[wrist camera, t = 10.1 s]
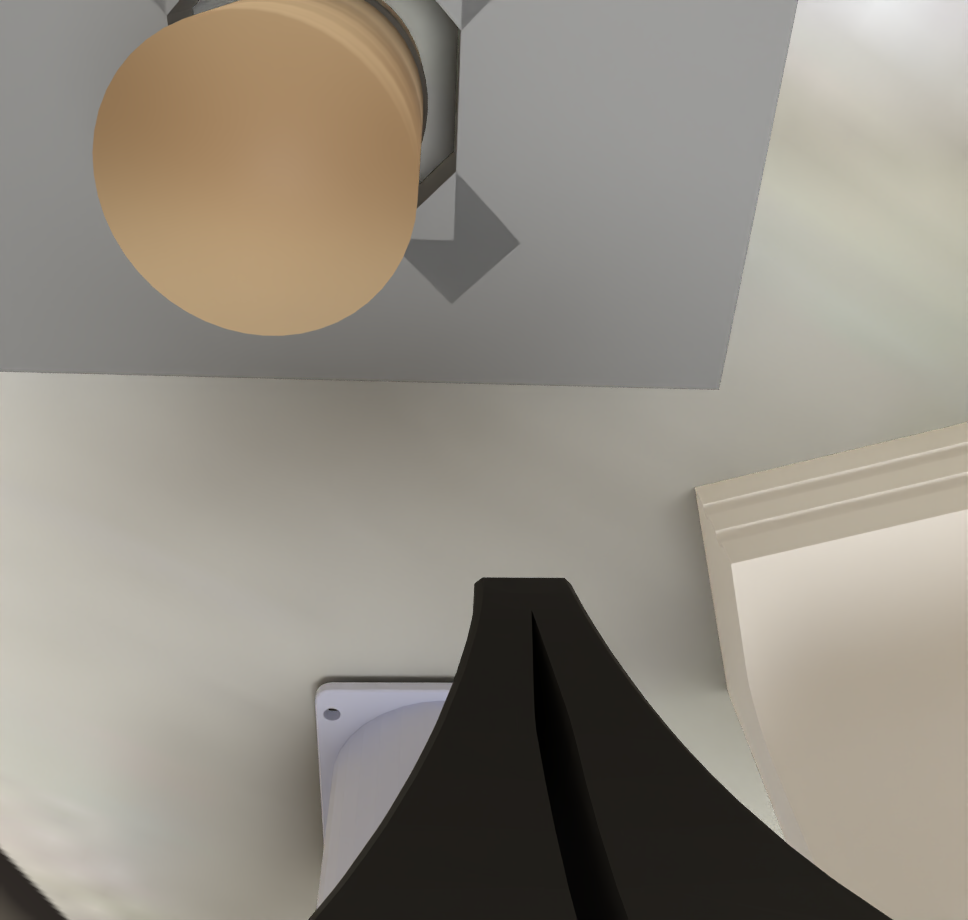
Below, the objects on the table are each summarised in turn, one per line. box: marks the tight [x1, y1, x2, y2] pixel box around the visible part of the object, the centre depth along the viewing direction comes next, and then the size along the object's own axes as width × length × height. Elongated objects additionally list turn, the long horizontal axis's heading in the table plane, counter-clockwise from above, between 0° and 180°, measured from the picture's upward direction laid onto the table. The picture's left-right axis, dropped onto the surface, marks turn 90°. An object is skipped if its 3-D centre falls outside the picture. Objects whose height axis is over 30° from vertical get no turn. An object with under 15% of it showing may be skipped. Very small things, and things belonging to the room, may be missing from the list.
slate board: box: [0, 0, 798, 390], centre depth 18 cm, size 12×18×2 cm, turn 87°
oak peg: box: [92, 0, 428, 336], centre depth 15 cm, size 4×4×9 cm
